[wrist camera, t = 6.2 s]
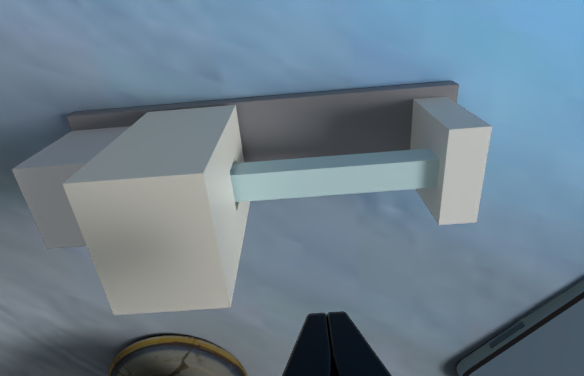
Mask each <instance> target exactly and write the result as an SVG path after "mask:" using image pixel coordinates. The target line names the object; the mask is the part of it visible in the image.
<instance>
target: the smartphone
mask: <svg viewBox="0 0 584 376" xmlns="http://www.w3.org/2000/svg"><path fill="white" fill-rule="evenodd" d="M457 373H458V375H459V376H584V280H582V281H581V282H579V283H578V284H576V285H575V286H573V287H571V288H570V289H568V290H567V291H565V292H564V293H562V294H560V295H559V296H557V297H556V298H554V299H553V300H551V301H550V302H548V303H546V304H545V305H543V306H542V307H540V308H539V309H537V310H535V311H534V312H532V313H531V314H529V315H528V316H526V317H524V318H523V319H521V320H520V321H518V322H517V323H515V324H514V325H512V326H511V327H509V328H508V329H507V330H505V331H504V332H502V333H501V334H499V335H498V336H496V337H495V338H493V339H492V340H490V341H489V342H487V343H486V344H484V345H483V346H481V347H480V348H478V349H477V350H475V351H474V352H472V353H471V354H470V355H468V356H467V357H465V358H464V359H462V360H461V361H460V362H459V364H458V365H457Z"/></svg>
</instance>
